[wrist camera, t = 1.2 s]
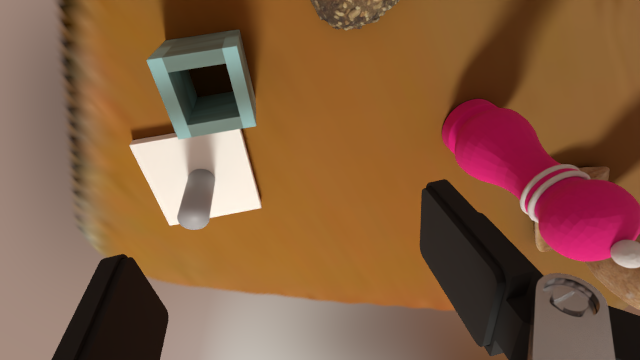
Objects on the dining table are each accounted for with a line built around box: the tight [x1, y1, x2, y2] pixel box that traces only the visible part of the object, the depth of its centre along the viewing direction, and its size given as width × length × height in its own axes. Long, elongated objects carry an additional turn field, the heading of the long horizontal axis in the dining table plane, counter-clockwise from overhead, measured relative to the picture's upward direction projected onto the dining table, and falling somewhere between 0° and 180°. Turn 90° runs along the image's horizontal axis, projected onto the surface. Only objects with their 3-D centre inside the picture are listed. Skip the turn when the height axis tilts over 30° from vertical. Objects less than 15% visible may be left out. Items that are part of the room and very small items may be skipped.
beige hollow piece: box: [535, 166, 640, 310], centre depth 41 cm, size 15×12×15 cm
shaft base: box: [129, 129, 261, 230], centre depth 32 cm, size 10×10×7 cm
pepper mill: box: [442, 99, 640, 268], centre depth 28 cm, size 7×7×20 cm
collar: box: [147, 29, 256, 140], centre depth 26 cm, size 6×6×6 cm
